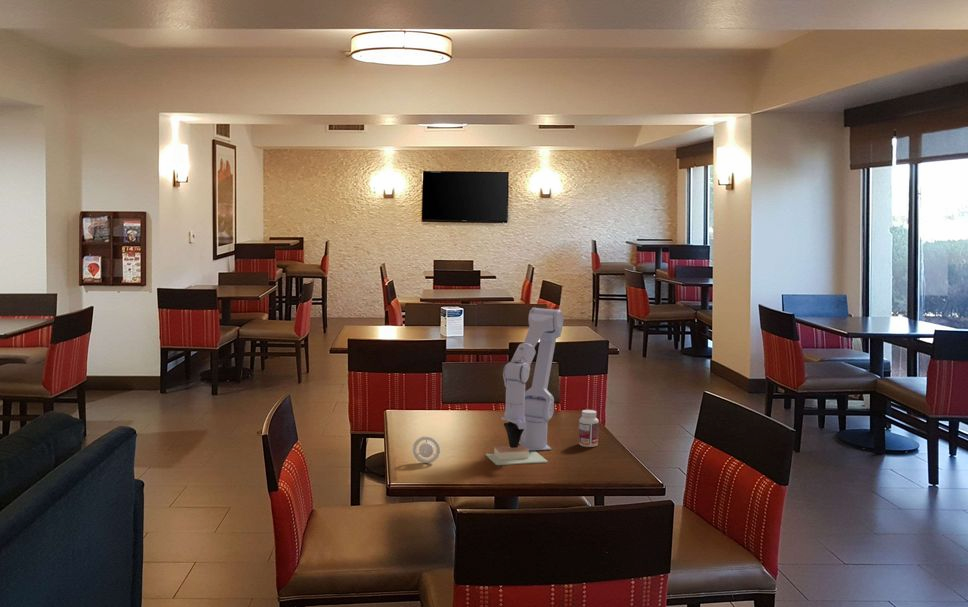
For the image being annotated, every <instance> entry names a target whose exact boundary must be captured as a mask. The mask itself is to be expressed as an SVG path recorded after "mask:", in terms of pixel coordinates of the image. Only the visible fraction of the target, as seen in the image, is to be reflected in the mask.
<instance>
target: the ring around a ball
mask: <svg viewBox="0 0 968 607" xmlns="http://www.w3.org/2000/svg"><path fill="white" fill-rule="evenodd" d="M422 441H423V442H422ZM424 441H425V442H424ZM428 441H429V442H428ZM421 442H422V443H421ZM430 442H431V443H430ZM420 443H421V444H420ZM419 444H420V445H419ZM433 444H434V446H435V447H434V446H433ZM418 445H419V448H418ZM417 448H418V452H417ZM434 448H436V449H434ZM434 450H436V451H435V453H434ZM440 453H441V446H440V444H439V442H438V441H437V440H436V439H435V438H433V437H431V436H421V437H419V438H417V440H416V441H415V442H414V443H413V446H412V454H413V456H414V458H415V459H416V460H417V461H418V462H420V463H423V464H430V463H433V462H435V461H436V460H437V459H438V458H439V456H440ZM419 455H421V457H420V456H419ZM432 455H433V457H432ZM422 457H423V458H422ZM429 457H431V458H429ZM424 458H428V459H424Z"/></svg>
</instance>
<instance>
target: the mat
mask: <svg viewBox="0 0 968 607" xmlns="http://www.w3.org/2000/svg"><path fill="white" fill-rule="evenodd" d="M485 456H486V457H487V458H488V459H489V460H490V461H491V462H492V463H493V464H494V465H495V466H504V465H505V466H507V465H508V466H509V465H527V464H544V463H548V462H549V461H548V460H547V459H546V458H545V457H544V456H542V455H541V454H539V453H538V452H537V451H529V458H522V459H503V460H500V459H499V458H498V457H496V456H495V455H494V453H486V454H485Z"/></svg>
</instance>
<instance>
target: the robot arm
mask: <svg viewBox="0 0 968 607" xmlns="http://www.w3.org/2000/svg"><path fill="white" fill-rule="evenodd" d="M564 319H565V318H564V315H563V312H562V310H561V309H553V308H540V307H535V306H534V307H532V308H531V309H530V310H529V313H528V330H527V332H526V336H525V338H524V340H523V342H522V343H519V344H518V346H517V348H516V350H515V352H514V354H513V356H512V358H511V360H510V361H509V362H507V363H506V364H505V365H504V367H503V370H502V371H503V372H502V378H503V381H504V387H505V408H504V409H505V411H504V412H503V416H501V418H500V419H501V420H502V421H506V422H505V423H503V427H504V428H505V431H506V434H507V440H508V444H509V445H508V446H510V447H511V448H518V445H523V446H524V447H525V448H527V449H528V450H529V452H533V451H549V450H550V451H551V450H552V447H550V446H549V445H548V422H549V421H550V420H551V419H552V418H553V415H554V413H555V404H554V403H555V398H554V395H553V394H552V393H551V392H550V391H549V390H548V386H549V380H550V377H551V376H550V374H551V369H552V363H553V358H554V353H555V347H556V343H557V342H556V341H557V339H558V338H560V337H561V336H562V332H563V326H564ZM537 344H539V345H538V351H536V349H535V348H536V346H537ZM536 352H537V354H536ZM535 355H536V359H535V360H536V361H535V366H534V367H535V368H534V371H533V376H532V377H533V378H532V383H531V387H530V388H528V389H527V390H526V383H527V382H528V380H529V377H530V371H531V364H532V362H533V360H534V358H535Z"/></svg>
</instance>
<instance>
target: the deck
mask: <svg viewBox="0 0 968 607" xmlns="http://www.w3.org/2000/svg"><path fill="white" fill-rule="evenodd" d="M493 449H494V450H493V454H494V455H495V456H496V457H498V458H499V459H500V460H503V459H522V458H529V452H530V451H529V450H528V449H527V448H525V447H524V446H523V445H520V444H519V445H518V448H511V447H510V445H504V446H503V445H501V446H500V445H499V446H494V447H493Z"/></svg>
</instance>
